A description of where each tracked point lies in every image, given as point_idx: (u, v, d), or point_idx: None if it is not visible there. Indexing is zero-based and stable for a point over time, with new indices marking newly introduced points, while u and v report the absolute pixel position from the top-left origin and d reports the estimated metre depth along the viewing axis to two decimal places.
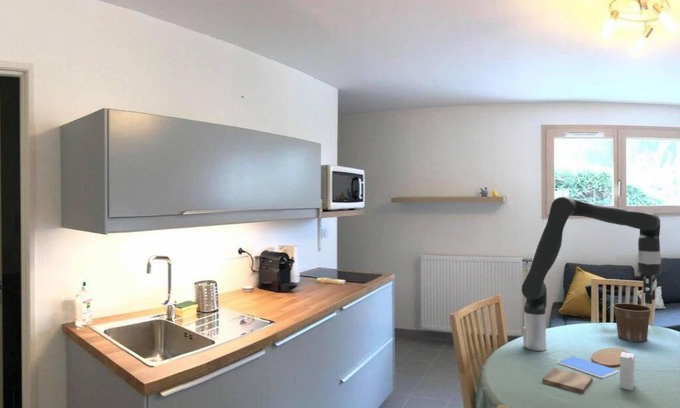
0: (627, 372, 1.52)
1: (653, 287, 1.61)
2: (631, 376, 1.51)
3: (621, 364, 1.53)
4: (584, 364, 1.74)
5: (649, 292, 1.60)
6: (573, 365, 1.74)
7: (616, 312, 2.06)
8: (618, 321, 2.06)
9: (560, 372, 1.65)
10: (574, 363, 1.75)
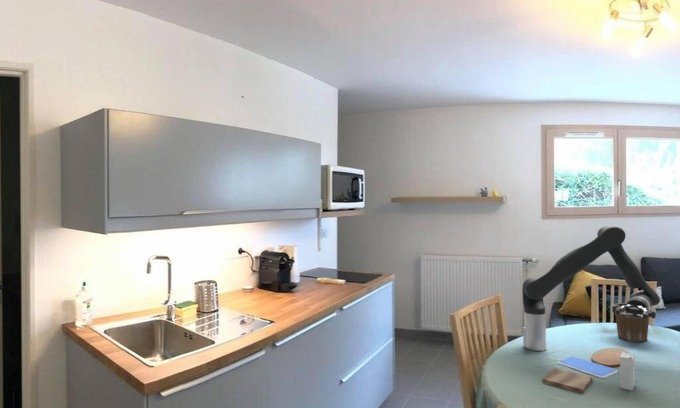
0: (627, 372, 1.52)
1: None
2: (631, 376, 1.51)
3: (621, 364, 1.53)
4: (585, 364, 1.74)
5: (654, 316, 1.61)
6: (573, 365, 1.74)
7: None
8: (618, 321, 2.06)
9: (560, 372, 1.65)
10: (574, 363, 1.75)
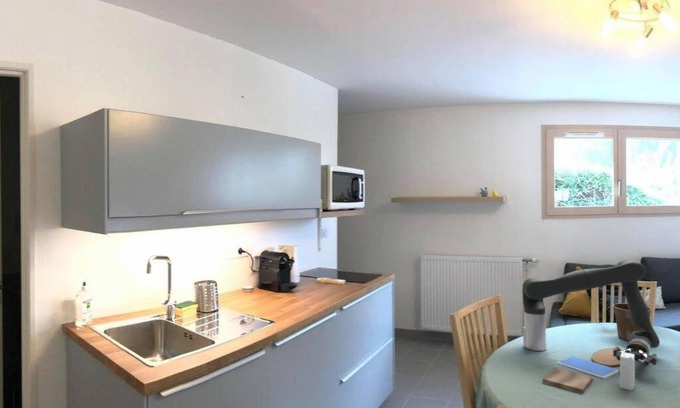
0: (627, 372, 1.52)
1: None
2: (631, 376, 1.51)
3: (621, 364, 1.53)
4: (585, 364, 1.74)
5: (655, 363, 1.60)
6: (574, 365, 1.74)
7: (616, 312, 2.06)
8: (618, 321, 2.06)
9: (560, 372, 1.65)
10: (575, 363, 1.75)
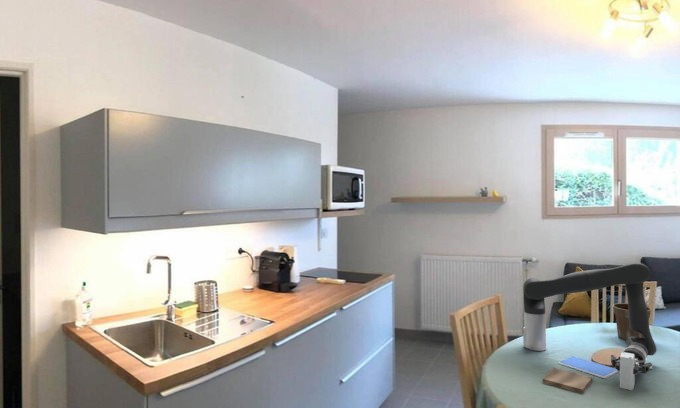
0: (626, 372, 1.52)
1: None
2: (631, 376, 1.51)
3: (621, 364, 1.53)
4: (585, 364, 1.74)
5: (645, 371, 1.53)
6: (574, 365, 1.73)
7: (616, 312, 2.06)
8: (618, 321, 2.06)
9: (560, 372, 1.65)
10: (575, 363, 1.75)
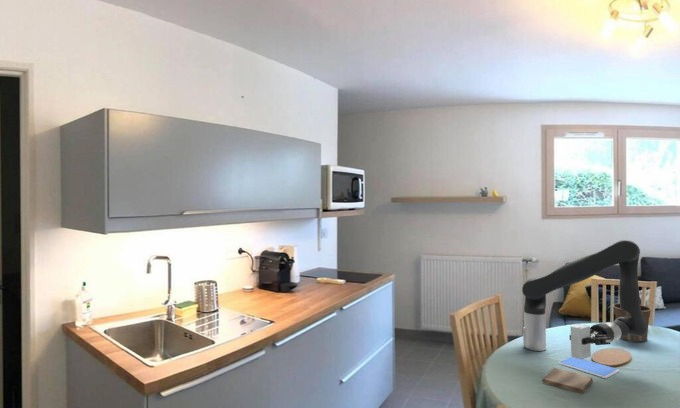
0: (576, 341, 1.56)
1: None
2: (579, 346, 1.55)
3: (571, 334, 1.58)
4: (586, 364, 1.74)
5: (598, 343, 1.54)
6: (575, 365, 1.73)
7: (616, 312, 2.06)
8: None
9: (560, 372, 1.65)
10: (575, 363, 1.75)
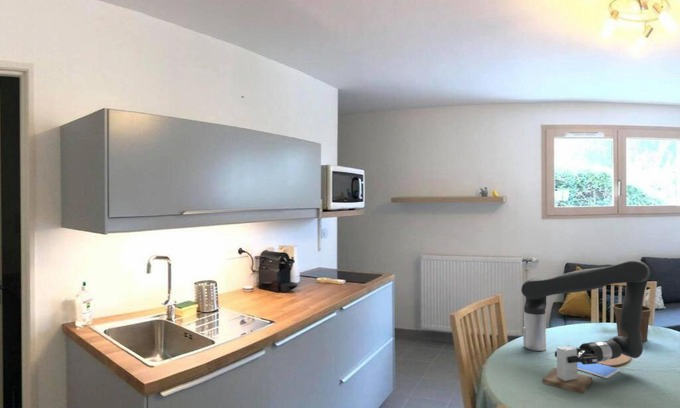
0: (561, 363, 1.59)
1: None
2: (563, 367, 1.57)
3: (557, 355, 1.60)
4: (586, 364, 1.74)
5: (584, 363, 1.55)
6: None
7: (616, 312, 2.06)
8: (618, 321, 2.06)
9: None
10: None
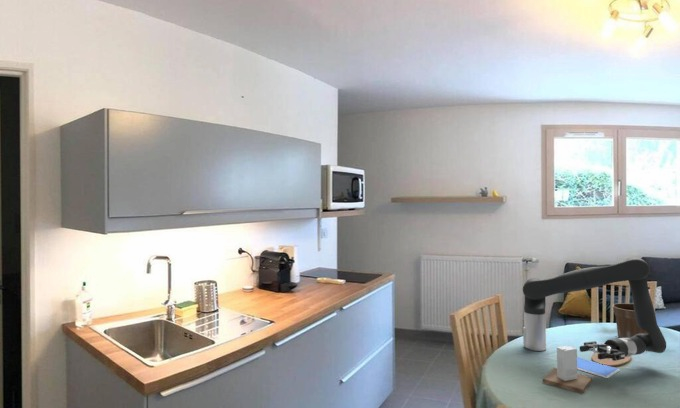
0: (561, 363, 1.59)
1: None
2: (563, 367, 1.57)
3: (557, 354, 1.60)
4: (586, 364, 1.74)
5: (615, 359, 1.58)
6: None
7: (616, 312, 2.06)
8: (618, 321, 2.06)
9: None
10: None
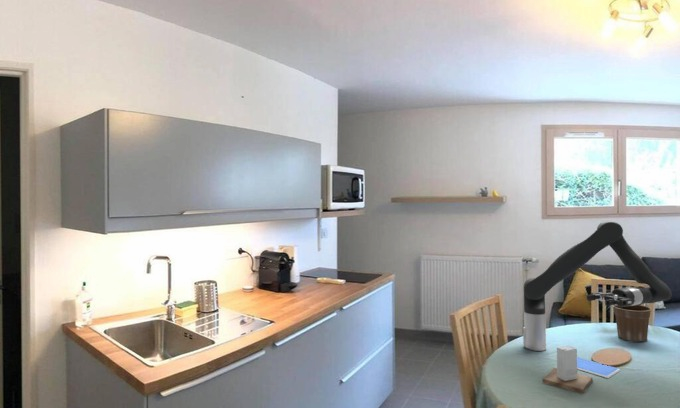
0: (561, 363, 1.59)
1: None
2: (563, 367, 1.57)
3: (557, 354, 1.60)
4: (586, 364, 1.74)
5: (622, 305, 1.61)
6: None
7: (616, 312, 2.06)
8: (618, 321, 2.06)
9: None
10: None
